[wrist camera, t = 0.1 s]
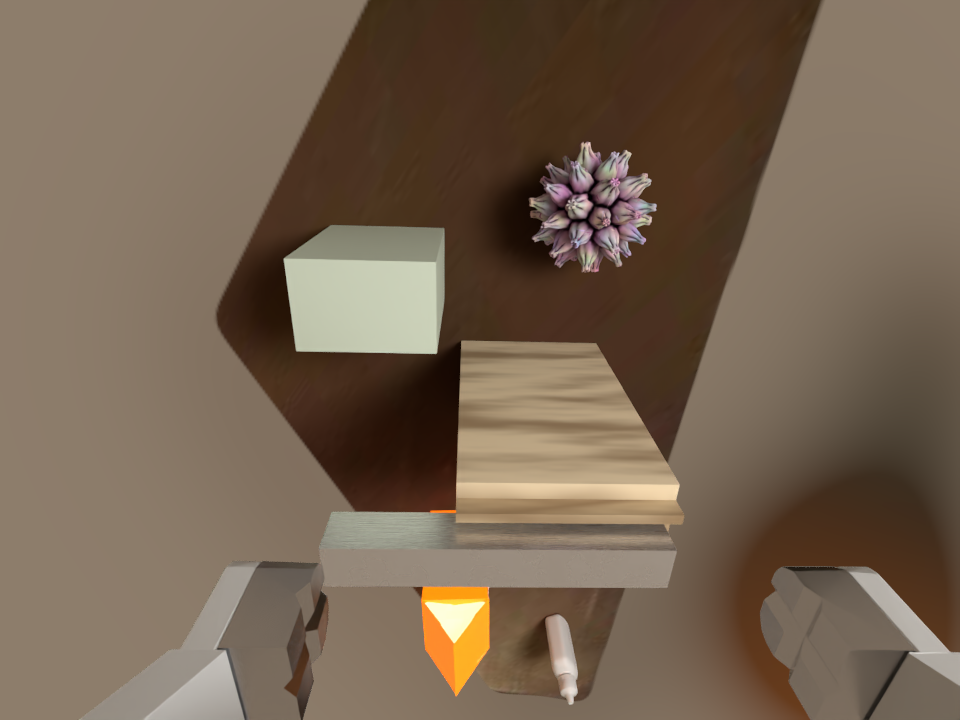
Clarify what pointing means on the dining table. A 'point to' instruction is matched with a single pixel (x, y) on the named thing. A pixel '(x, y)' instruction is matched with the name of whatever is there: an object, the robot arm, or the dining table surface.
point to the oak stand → (554, 440)
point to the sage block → (368, 290)
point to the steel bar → (490, 553)
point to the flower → (591, 209)
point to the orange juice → (456, 628)
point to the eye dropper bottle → (562, 655)
